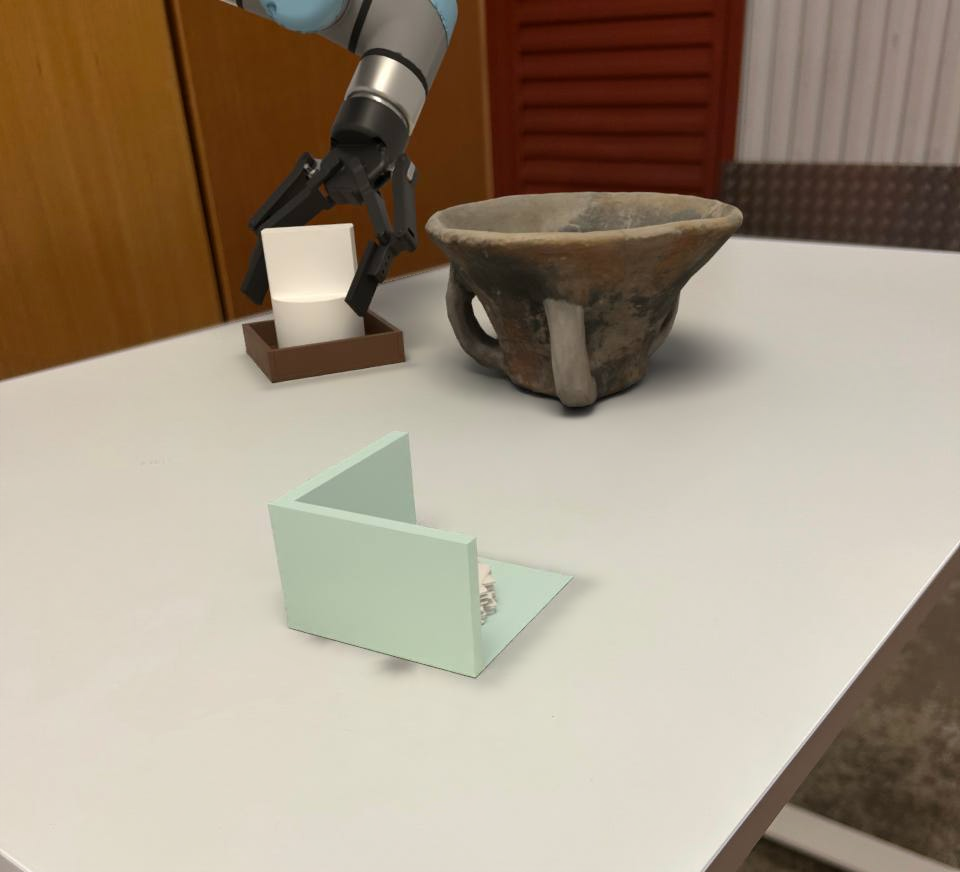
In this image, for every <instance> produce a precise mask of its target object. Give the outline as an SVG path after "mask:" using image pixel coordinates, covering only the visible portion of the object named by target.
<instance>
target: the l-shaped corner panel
mask: <svg viewBox="0 0 960 872" xmlns="http://www.w3.org/2000/svg"><path fill="white" fill-rule="evenodd" d="M411 457H412V456H411V445H410V435H409V432H407V431H401V430H392V431H390V432H389V433H387V434H385V435H384V436H382V437H380V438H378V439H377V440H375V441H373V442H372V443H370V444H368V445H366V446H365V447H363V448H361V449H360V450H357V451H356V452H354V453H352V454H351V455H349V456H348V457H346V458H344V459H342V460H341V461H339V462H337V463H335V464H334V465H332V466H329V468H327V469H325V470H323V471H322V472H320V473H318V474H317V475H315V476H313V477H312V478H310V479H308V480H306V481H305V482H303V483H302V484H300V485H297V486H296V487H294V488H293V489H291V490H289V491H287V492H286V493H284V494H282V495H280V496H278V497H277V498H275V499H273V500H272V501H269V503H267V507H268V509H267V510H268V515H269V520H270V525H271V533H272V537H273V542H274V543H273V544H274V549H275V554H276V560H277V567H278V572H279V573H278V574H279V579H280V584H281V589H282V595H283V600H284V601H283V602H284V607H285V612H286V613H285V614H286V619H287V625H288V628H289V629H292V630H296V631H300V632H303V633H308V634H311V635H315V636H317V637H322V638H326V639H328V640H329V639H330V640H334V641H336V642H341V643H344V644H349V645H353V646H356V647H358V648H359V647H360V648H363V649H367V650H371V651H375V652H378V653H382V654H385V655H390V656H393V657H397V658H401V659H404V660H408V661H411V662H414V663H419V664H423V665H427V666H430V667H434V668H437V669H441V670H445V671H448V672H452V673H456V674H460V675H462V676H463V675H464V676H468V677H471V678H477V677H478V676H479V675H480V674H481V673H482V672H483V670H484V669H486V668H487V666H488V665H489V664H490V663H491V662H492V661H493V660H494V659H495V658H496V657H498V655H499V654H500V653H501V652H502V651H503V650H504V649H505V648H506V647H507V646H508V645H509V644H510V643H511V642H512V641H513V639H515V637H516V636H517V635H519V634H520V632H521V631H523V629H525V627H526V626H528V625H529V623H530V622H531V621H532V620H533V619H534V618H535V617H536V616H537V615H538V614H539V613H540V612H541V611H542V610H543V609H544V608H545V606H547V605H548V604H549V602H551V600H552V599H554V598H555V596H556V595H558V593H559V592H560V591H561V590H562V589H563V588H564V587H566V585H567V584H568V583H569V582H570V581H571V580H572V579H573V578H574V576H573V575H569V574H563V573H558V572H553V571H550V570H549V571H548V570H544V569H539V568H533V567H529V566H525V565H524V566H523V565H519V564H516V563H509V562H505V561H501V560H496V559H490V558H487V557H486V558H485V557H481V556H479V555H478V543H477V541H478V540H477V539H478V538H477V536H474V535H469V534H464V533H458V532H454V531H448V530H443V529H439V528H434V527H429V526H423V525H419V524H417V514H416V504H415V503H416V501H415V491H414V479H413V470H412V469H413V468H412V458H411Z"/></svg>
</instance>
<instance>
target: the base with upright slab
mask: <svg viewBox="0 0 960 872" xmlns="http://www.w3.org/2000/svg"><path fill="white" fill-rule="evenodd" d="M261 236H262V242H263V249H264V255H265V262H266V269H267V275H268V282H269V288H268V289H269V293H270V294H269V295H270V300H271V307H272V308H271V309H272V313H273V314H272V315H273V319H274V321H275V327H276V334H277V341H278V347H279V349H280V348H286V347H293V346H300V345H306V344H313V343H320V342H326V341H333V340H340V339H346V338H353V337H360V336H365V330H364V321H363V317H359V316H358V315H357V314H356V313H355V312H354V311H353V310H352V309H351V308H350V306H349V305H348V304H347V303H346V302H345V301H344V300H345V298H346V295H347V293H348V290H349V288H350V285H351V283H352V280H353V278H354V276H355V273H356V271H357V268H358V266H359V264H358V258H357V249H356V248H357V247H356V239H355V238H356V237H355V229H354V224H353V223H351V222H349V223H335V224H317V225H304V226H299V227H282V228H266V229H264V230H262V231H261Z"/></svg>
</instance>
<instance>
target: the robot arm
mask: <svg viewBox="0 0 960 872" xmlns="http://www.w3.org/2000/svg"><path fill="white" fill-rule="evenodd" d="M219 1H221V2H223V3H225V4H226V3H227V4H229V5H231V6H234V7H237V8H240V9H242V10H245V12H249V13H251V14H254V15H257V16H259V17H262V18H265V19H267V20H270V21H272V22H275V23H276V24H277V25H279V26H280V27H282V28H283V29H284V28H285V29H286V30H289V31H293V32H296V33H299V34H314V33H315V34H317V35H319V36H321V37H323V38H325V39H327V40H329V41H330V42H332V43H335V44H336V45H338V46H340V47H342V48H344V49H345V50H347V51H349V52H350V53H352V54H354V55H357V56H359V57H360V60H359V62H358V64H357V67H356V69H355V71H354V73H353V75H352V78H351V80H350V83H349V85H348V86H347V89H346V92H345V94H344V98H343V102H342V103H341V105H340V107H339V109H338V111H337V114H336V117H335V119H334V120H333V124H332V126H331V129H330V133H329V137H330V148H329V150H328V152H327V153H326V155H325V156H324V157H323V158H322V159H321V158H316V157H313V156H312V155H311V153H310V152H309V151H303V152H302V153H301V154H300V156H299V158H298V159H297V162H296V163H295V165H294V167H293V169H292V170H291V171H290V172H289V174H288V175H287V176H286V177H285V178H284V179H283V180H282V182H281V183H280V184H279V185H278V187H276V189H275V190H273V192H272V193H271V194H270V196H269V197H268V198H267V199H265V201H264V202H263V204H262V205H261V206H260V207H259V208H258V209H257V211H256V212H255V213H254V214H253V215H252V216H251V217H250V219H249V220H248V222H247V227H248V228H249V229H250V230H251V231H252V233H254V235H255V236H256V237H257V240H256V242H255V246H254V247H253V250H252V253H251V254H250V256H249V260H248V264H249V267H248V269H247V272H246V274H245V277H244V279H243V281H242V283H241V286H240V287H239V291H240V292H242V294H243V295H244V296H245V297H246V298H248V299H249V300H250V301H251V302H252V303H253V304H254V305H255V306H262V304H263V302H264V300H265V298H266V295H267V293H268V291H269V289H270V288H269V282H268V275H267V269H266V262H265V255H264V249H263V242H262V236H261V231H262V230H264V229H266V228H282V227H299V226H306V225H307V224H308V223H309V222H311V221H312V220H313V219H314V218H315V217H317V215H319V214H320V213H321V212H322V211H324V210H325V211H330V210H332V208H334V207H336V205H338V206H344V205H353V206H355V207H356V206H359V207H362V205H363V204H364V205H365V207H366V210H367V213H368V214H367V215H368V217H369V220H370V223H371V225H372V228H373V231H374V234H373V236H374V238H375V239H376V240H377V241H378V242H376V240H375V241H374V240H368V241H367V243H366V246H365V249H364V251H363V253H362V256H361V259H360V261H359V263H358V268H357V271H356V273H355V276H354V278H353V280H352V283H351V285H350V288H349V290H348V293H347V295H346V298H345V300H344V301H345V302H346V303H347V304H348V305H349V306H350V308H351V309H352V310H353V311H354V312H355V313H356V314H357V315H358V316H359V317H365V316H366V313H367V311H368V308H369V309H370V306H371V303H372V300H373V298H374V296H375V293H376V291H377V289H378V286H379V284H383V283H384V282H385V280H386V279H387V276H388V274H389V271H390V269H391V266H392V264H393V262H394V259H395V258H396V257H398V256H399V255H400V254H401V252H405V251H406V252H407V253H414V252H416V250H417V249H418V229H417V212H416V196H415V194H416V193H415V189H416V184H417V181H418V178H419V173H420V172H419V170H418V169H417V167H416V165H415V164H414V163H413V161H412V160H411V158H410V157H409V154H407V153H406V150H407V146H408V145H409V142H410V137H411V136H412V134H413V131H414V128H415V126H416V124H417V122H418V120H419V116H420V114H421V112H422V109H423V107H424V105H425V103H426V100H427V97H428V95H429V92H430V90H431V88H432V85H433V83H434V81H435V78H436V76H437V74H438V72H439V69H440V67H441V65H442V62H443V60H444V58H445V55H446V53H447V50H448V48H449V45H450V41H451V38H452V35H453V33H454V30H455V27H456V24H457V20H458V13H459V12H458V11H459V10H458V3H457V0H219ZM390 181H391V186H392V187H391V188H392V208H393V225H394V226H393V225H392V223H391V219H390V217H389V215H388V211H387V209H386V202H385V199H384V196H383V194H382V188H384V187H385V186H386V185H387V184H388V183H389V182H390ZM322 185H323V188H324V190H325V192H326V194H327V195H325V194H324V193H323V191H322V190H321V189H320V187H321V186H322ZM393 227H394V228H393Z"/></svg>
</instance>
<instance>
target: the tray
mask: <svg viewBox="0 0 960 872" xmlns="http://www.w3.org/2000/svg"><path fill="white" fill-rule="evenodd" d="M363 321H364V330H365V336H360V337H353V338H346V339H340V340H333V341H326V342H320V343H313V344H306V345H300V346H293V347H286V348H280V349H279V347H278V341H277V334H276V327H275V321H274V318H273V319H267V320H260V321H252V322H246V323H241V328H242V333H243V339H244V345H245V351H246V354H247V355H248V356H249V357H250V358H251V360H253V362H254V363H255V364H256V365H257V366H258V368H259V369H260V370H261V371H262V373H263V374H264V375H265V376H266V377H267V378H268V380H269V381H270V382H271V383H273V384H274V383H278V382H284V381H285V382H286V381H291V380H297V379H304V378H309V377H317V376H323V375H329V374H335V373H336V374H337V373H341V372H349V371H353V370H361V369H366V368H374V367H380V366H385V365H392V364H397V363H404V362H406V354H405V343H404V332H403V331H402V330H401V329H400V328H398V327H397V326H395V325H393V323H390V322H389V321H388V320H386V319H385V318H384V317H382V316H381V315H379V314H377V313H376V312H375V311H373V310H372V309H370V307H369V308H368V311H367V313H366V316H365V317H363Z"/></svg>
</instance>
